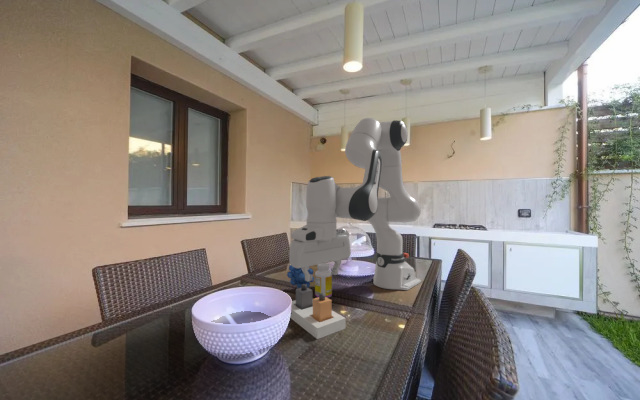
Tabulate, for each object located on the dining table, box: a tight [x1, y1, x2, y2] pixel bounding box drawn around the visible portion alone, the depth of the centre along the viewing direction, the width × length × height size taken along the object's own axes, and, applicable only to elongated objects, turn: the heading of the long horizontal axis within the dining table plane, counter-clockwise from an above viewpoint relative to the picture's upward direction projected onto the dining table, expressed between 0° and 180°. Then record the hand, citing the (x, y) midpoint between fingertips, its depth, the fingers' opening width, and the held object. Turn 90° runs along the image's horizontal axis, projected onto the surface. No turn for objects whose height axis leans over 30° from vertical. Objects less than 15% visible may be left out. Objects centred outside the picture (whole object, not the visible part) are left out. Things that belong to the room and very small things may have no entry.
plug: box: [313, 293, 333, 322], centre depth 77 cm, size 4×4×10 cm
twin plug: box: [295, 284, 314, 310], centre depth 85 cm, size 4×4×10 cm
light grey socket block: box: [290, 299, 347, 340], centre depth 81 cm, size 10×20×4 cm, turn 35°
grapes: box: [286, 264, 315, 289], centre depth 110 cm, size 12×7×12 cm, turn 104°
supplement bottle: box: [314, 262, 333, 299], centre depth 102 cm, size 7×7×13 cm
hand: (322, 277), depth 77 cm, fingers open, 8 cm apart
